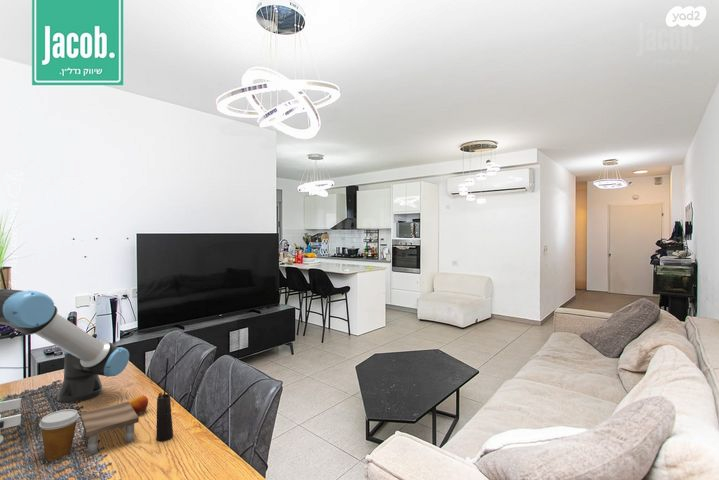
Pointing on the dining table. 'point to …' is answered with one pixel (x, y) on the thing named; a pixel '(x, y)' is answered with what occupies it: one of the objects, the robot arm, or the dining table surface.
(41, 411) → the dining table surface
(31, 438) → the dining table surface
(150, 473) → the dining table surface
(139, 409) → the fruit
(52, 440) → the disposable coffee cup
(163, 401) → the butter churn
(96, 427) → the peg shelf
